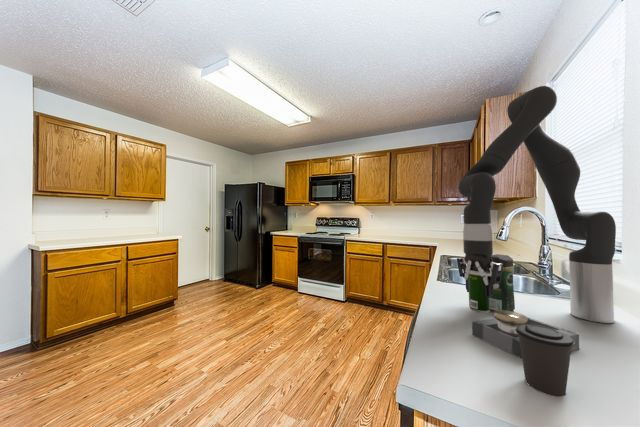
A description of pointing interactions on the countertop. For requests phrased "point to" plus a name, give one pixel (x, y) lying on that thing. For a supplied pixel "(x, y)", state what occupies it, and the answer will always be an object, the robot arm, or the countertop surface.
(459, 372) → the countertop surface
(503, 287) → the coffee jar
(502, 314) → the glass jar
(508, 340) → the grey rectangular frame
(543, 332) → the coffee cup
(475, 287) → the green metal cylinder
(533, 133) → the robot arm
